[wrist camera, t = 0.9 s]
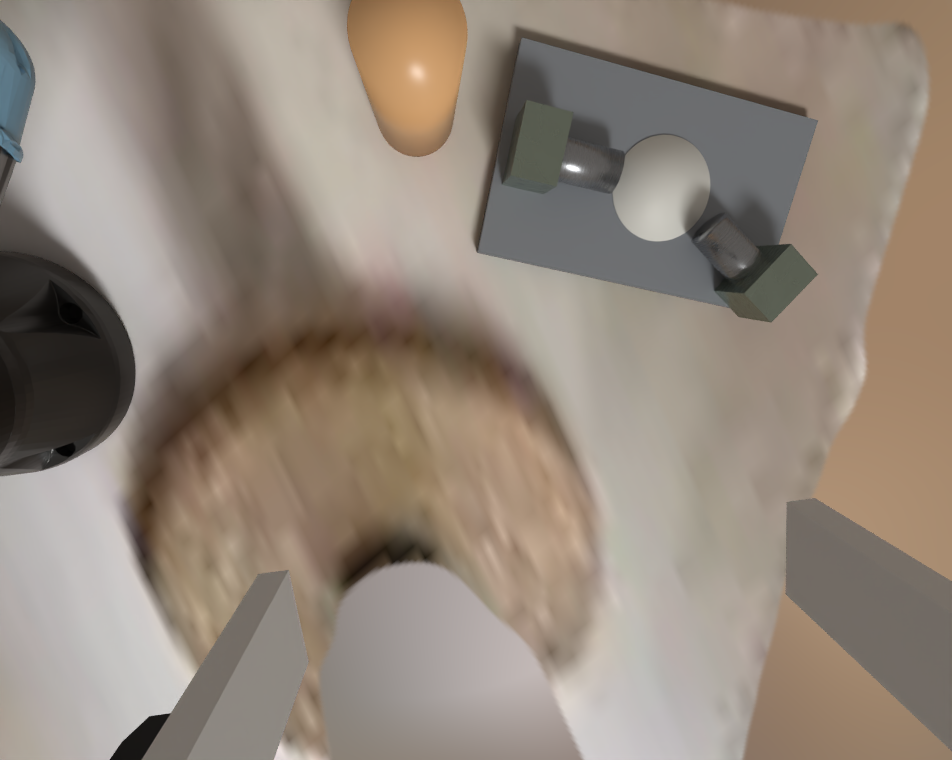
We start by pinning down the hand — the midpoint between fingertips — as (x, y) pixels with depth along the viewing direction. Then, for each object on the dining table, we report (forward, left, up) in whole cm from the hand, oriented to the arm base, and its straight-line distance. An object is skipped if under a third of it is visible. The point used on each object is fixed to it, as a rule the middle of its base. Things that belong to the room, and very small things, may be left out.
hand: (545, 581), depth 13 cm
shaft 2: (+18, +12, -26) cm, 33 cm away
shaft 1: (+3, +16, -25) cm, 30 cm away
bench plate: (+10, +16, -27) cm, 32 cm away
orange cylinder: (-7, +17, -27) cm, 32 cm away
